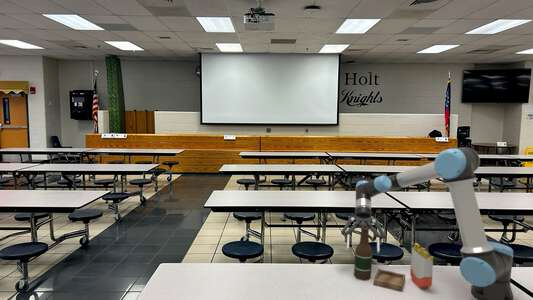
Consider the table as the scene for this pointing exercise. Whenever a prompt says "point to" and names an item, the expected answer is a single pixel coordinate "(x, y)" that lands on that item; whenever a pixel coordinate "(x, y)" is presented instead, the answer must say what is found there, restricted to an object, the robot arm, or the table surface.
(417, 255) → the french fries container
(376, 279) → the wooden tray
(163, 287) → the table surface
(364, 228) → the beer bottle
